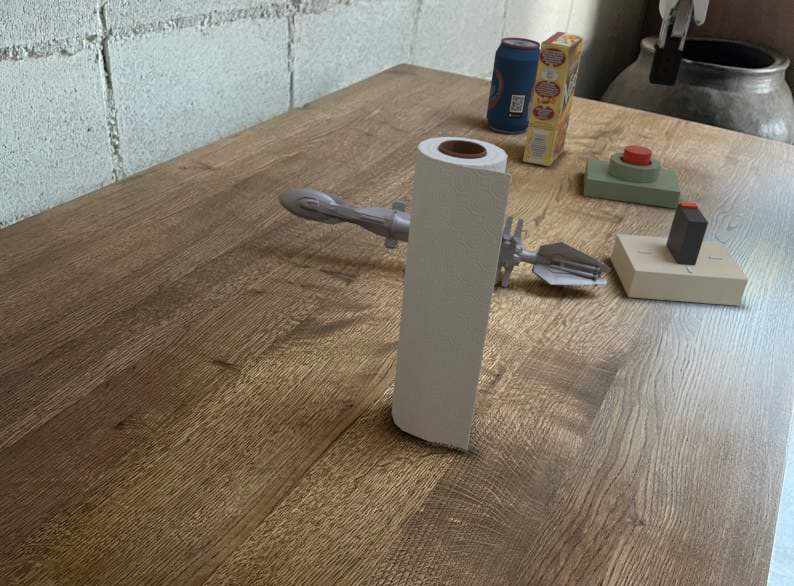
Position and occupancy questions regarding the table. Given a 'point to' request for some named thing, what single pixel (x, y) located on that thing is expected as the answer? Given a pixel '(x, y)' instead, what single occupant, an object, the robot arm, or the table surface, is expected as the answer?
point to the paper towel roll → (448, 285)
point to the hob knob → (686, 233)
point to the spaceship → (548, 263)
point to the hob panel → (677, 272)
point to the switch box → (631, 182)
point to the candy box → (552, 97)
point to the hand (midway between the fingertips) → (661, 83)
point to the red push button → (637, 155)
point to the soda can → (513, 85)
